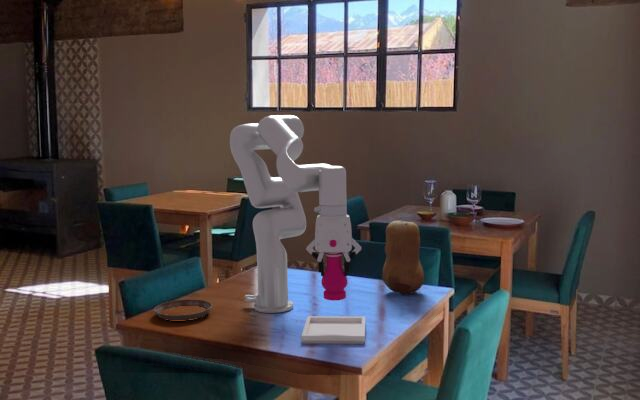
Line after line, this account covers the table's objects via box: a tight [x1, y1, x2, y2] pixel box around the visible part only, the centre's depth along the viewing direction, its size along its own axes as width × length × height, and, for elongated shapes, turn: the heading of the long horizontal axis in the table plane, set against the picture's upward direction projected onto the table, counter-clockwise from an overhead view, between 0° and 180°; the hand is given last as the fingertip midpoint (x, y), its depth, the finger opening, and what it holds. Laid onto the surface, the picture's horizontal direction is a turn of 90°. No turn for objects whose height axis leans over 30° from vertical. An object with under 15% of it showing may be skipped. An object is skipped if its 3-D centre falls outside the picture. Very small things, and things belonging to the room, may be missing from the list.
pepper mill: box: [321, 240, 348, 301], centre depth 185 cm, size 7×7×20 cm
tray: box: [301, 315, 366, 345], centre depth 188 cm, size 17×17×2 cm
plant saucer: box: [153, 298, 213, 320], centre depth 208 cm, size 18×18×3 cm
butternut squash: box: [381, 219, 425, 296], centre depth 226 cm, size 14×13×25 cm
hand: (334, 274), depth 186 cm, fingers closed on pepper mill, 5 cm apart
